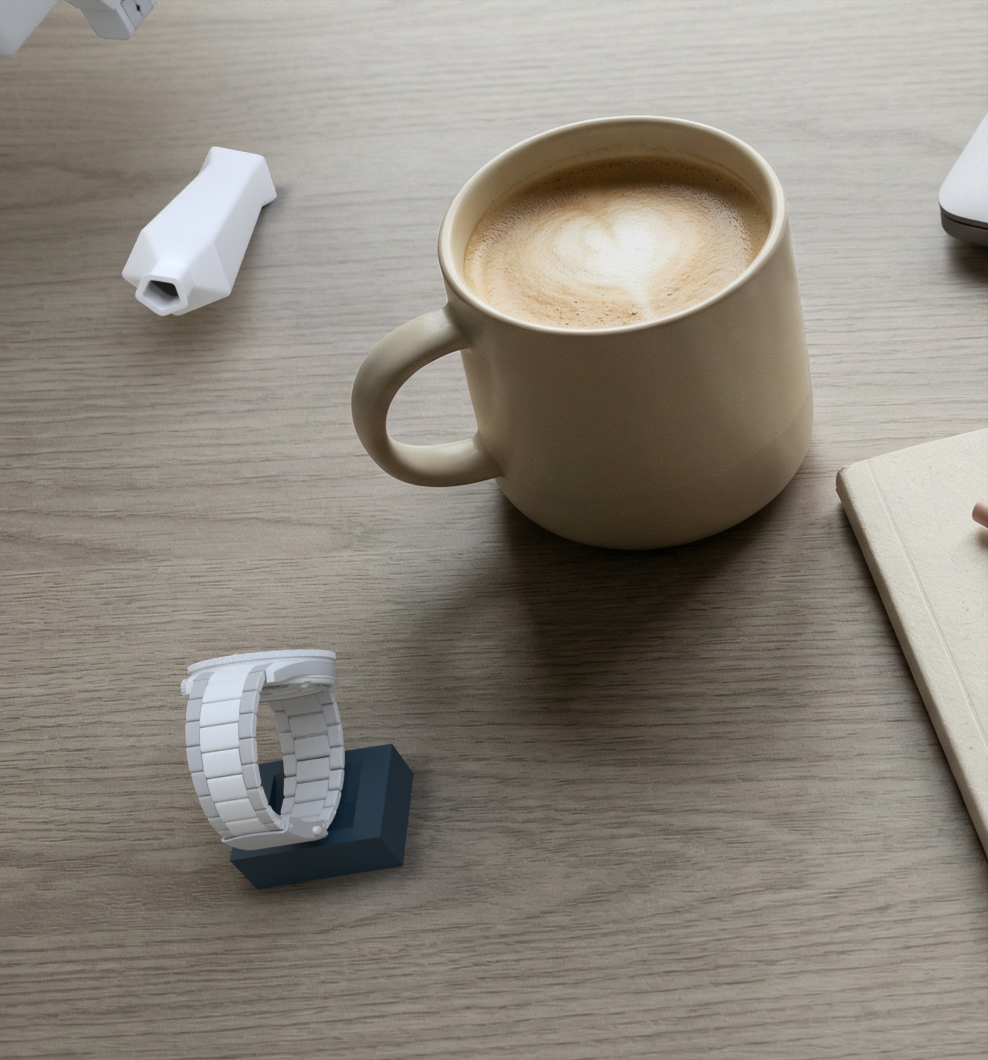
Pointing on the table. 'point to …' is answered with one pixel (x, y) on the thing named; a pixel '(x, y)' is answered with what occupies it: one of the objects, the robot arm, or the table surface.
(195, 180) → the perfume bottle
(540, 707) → the table surface
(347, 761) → the watch
